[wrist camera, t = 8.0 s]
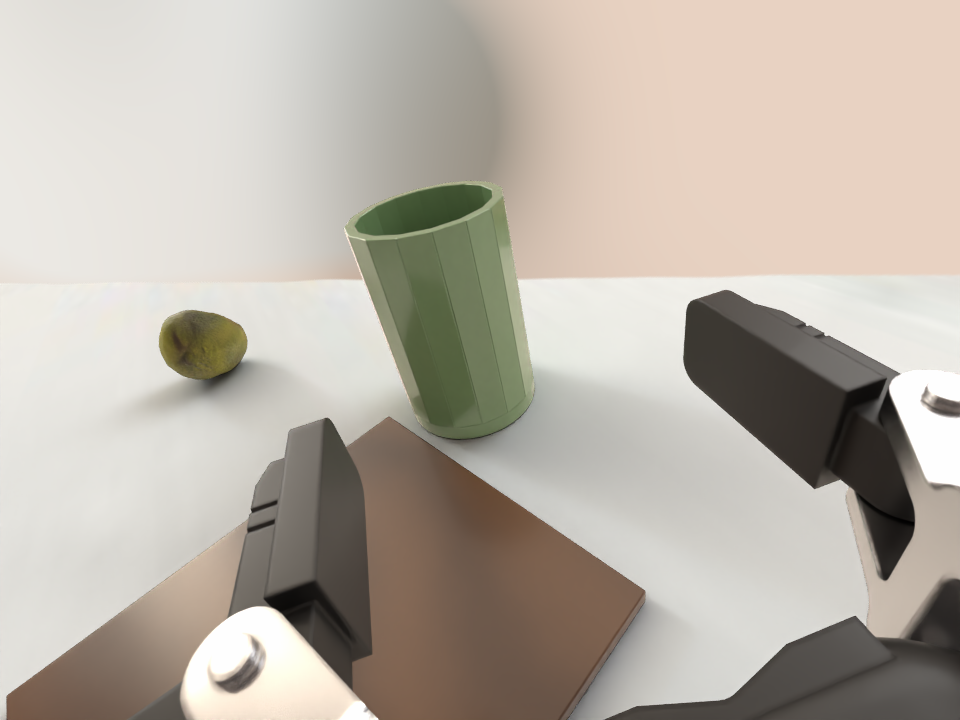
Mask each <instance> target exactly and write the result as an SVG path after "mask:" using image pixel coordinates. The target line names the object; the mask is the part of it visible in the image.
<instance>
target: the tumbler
mask: <svg viewBox="0 0 960 720" xmlns="http://www.w3.org/2000/svg"><path fill="white" fill-rule="evenodd" d="M344 231H345V233H346V236H347V239H348V242H349V244H350V247H351V249H352V252H353V255H354V257H355V260H356V263H357V265H358V268H359V270H360V273H361V276H362V279H363V281H364V284H365V286H366V289H367V292H368V294H369V297H370V300H371V302H372V305H373V308H374V310H375V313H376V315H377V318H378V321H379V323H380V326H381V329H382V331H383V334H384V337H385V339H386V342H387V345H388V347H389V350H390V352H391V355H392V358H393V360H394V363H395V366H396V368H397V371H398V374H399V376H400V379H401V381H402V384H403V387H404V389H405V392H406V395H407V397H408V400H409V402H410V404H411V407H412V409H413V412H414V415H415V417H416V419H417V421H418V423H419V424H420V425H421V426H422V427H423V428H425V429H426V430H427V431H429V432H431V433H432V434H435V435H438V436H440V437H445V438H451V439H469V438H476V437H481V436H485V435H488V434H491V433H494V432H497V431H499V430H501V429H503V428H505V427H507V426H508V425H510V424H511V423H513V422H514V421H516V420H517V419H518V418H519V417H520V416H521V415H522V414H523V413H524V412H525V411H526V410H527V408H528V407H529V405H530V403H531V402H532V399H533V396H534V391H535V385H534V378H533V372H532V366H531V360H530V354H529V348H528V341H527V335H526V329H525V323H524V317H523V311H522V305H521V299H520V293H519V287H518V281H517V274H516V269H515V262H514V257H513V250H512V244H511V239H510V232H509V226H508V220H507V214H506V208H505V201H504V196H503V189H502V187H500V186H498V185H495V184H493V183H490V182H480V181H463V182H454V183H453V182H452V183H444V184H438V185H434V186H429V187H424V188H419V189H416V190H412V191H409V192H406V193H402V194H399V195H396V196H393V197H390V198H388V199H385V200H383V201H381V202H378V203H376V204H374V205H371V206H369V207H367V208H366V209H364V210H363V211H361V212H360V213H358V214H356V215H355V216H353V217H352V218H351V219H350V220H349V222H348V223H347V224H346V226H345V227H344Z"/></svg>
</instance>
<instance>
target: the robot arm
mask: <svg viewBox="0 0 960 720" xmlns="http://www.w3.org/2000/svg"><path fill="white" fill-rule="evenodd" d="M683 360H684V366H685V369H686V372H687V374H688V376H689V378H690V379H691V381H692V382H693V383H694V384H695V385H696V386H697V387H698V388H699V389H701V390H702V391H703V392H704V393H705V394H706V395H707V396H709V397H710V398H711V399H712V400H713V401H714V402H715V403H717V404H718V405H719V406H720V407H721V408H722V409H723V410H725V411H726V412H727V413H728V414H729V415H730V416H732V417H733V418H734V419H735V420H736V421H737V422H738V423H740V424H741V425H742V426H743V427H744V428H745V429H746V430H748V431H749V432H750V433H751V434H752V435H753V436H754V437H756V438H757V439H758V440H759V441H760V442H761V443H762V444H764V445H765V446H766V447H767V448H768V449H769V450H770V451H772V452H773V453H774V454H775V455H776V456H777V457H778V458H780V459H781V460H782V461H783V462H784V463H785V464H786V465H788V466H789V467H790V468H791V469H792V470H793V471H794V472H796V473H797V474H798V475H799V476H800V477H801V478H803V479H804V480H805V481H806V482H807V483H808V484H809V485H811V486H812V487H813V488H814V489H816V488H819V487H822V486H824V485H827V484H829V483H832V482H835V481H837V480H840V479H841V480H842V481H843V482H844V483H846V484H847V485H848V486H849V488H848V490H847V493H846V503H847V507H848V511H849V515H850V519H851V523H852V527H853V531H854V535H855V539H856V543H857V547H858V551H859V556H860V560H861V564H862V568H863V572H864V576H865V580H866V584H867V588H868V596H869V607H868V614H867V626H865V625H864V624H863V623H862V622H861V621H860V620H859V619H858V618H857V617H856V616H853V617H851V618H849V619H846V620H844V621H841V622H839V623H836V624H834V625H832V626H829V627H827V628H824V629H822V630H820V631H817V632H815V633H812V634H810V635H807V636H805V637H803V638H800V639H798V640H795V641H793V642H791V643H788V644H786V645H785V646H784V647H783V648H782V649H781V650H780V651H779V652H778V653H777V654H776V655H775V656H774V657H773V658H772V659H771V660H770V661H769V662H768V663H766V664H765V665H764V666H763V667H762V668H761V669H760V670H759V671H758V672H757V673H756V674H755V675H754V676H753V677H752V678H751V679H750V680H749V681H748V682H747V683H746V684H745V685H744V686H743V687H742V688H740V689H739V690H738V691H737V692H736V693H735V694H734V695H733V696H731V697H730V698H727V699H725V700H720V701H707V702H692V703H678V704H663V705H649V706H636V707H634V708H631V709H629V710H627V711H624V712H622V713H619V714H617V715H614V716H612V717H610V718H607V719H605V720H960V374H956V373H951V372H945V371H936V370H917V371H910V372H906V373H903V374H900V373H898V372H896V371H894V370H893V369H891V368H889V367H887V366H885V365H883V364H881V363H879V362H878V361H876V360H874V359H872V358H870V357H868V356H866V355H864V354H863V353H861V352H859V351H857V350H855V349H853V348H851V347H849V346H847V345H846V344H844V343H842V342H840V341H838V340H836V339H834V338H832V337H831V336H825V335H824V333H823V332H821V331H819V330H817V329H816V328H814V327H812V326H806V324H805V323H804V322H802V321H800V320H799V319H797V318H795V317H793V316H791V315H789V314H787V313H785V312H784V311H780V310H776V309H773V308H769V307H765V306H761V305H758V304H754V303H752V302H750V301H748V300H747V299H745V298H743V297H741V296H739V295H737V294H736V293H734V292H732V291H729V290H723V291H720V292H717V293H714V294H711V295H708V296H705V297H701V298H698V299H695V300H692V301H691V302H690V303H689V304H688V307H687V311H686V325H685V340H684V356H683ZM251 511H252V513H251V514H250V515H249V519H248V524H247V532H248V533H247V534H245V538H244V543H243V548H242V552H241V557H240V562H239V566H238V571H237V576H236V580H235V585H234V590H233V595H232V599H231V604H230V609H229V613H228V617H227V620H225V621H224V622H222V623H221V624H220V625H219V626H218V627H217V628H215V629H214V630H213V631H212V632H211V633H210V634H209V636H208V637H207V638H206V639H205V640H204V641H203V643H202V644H201V645H200V646H199V648H198V649H197V651H196V652H195V654H194V655H193V657H192V659H191V661H190V663H189V665H188V667H187V669H186V672H185V675H184V677H183V681H181V682H180V683H179V684H177V685H176V686H175V687H173V688H172V689H171V690H169V691H168V692H166V693H165V694H163V695H162V696H160V697H159V698H157V699H156V700H155V701H153V702H152V703H150V704H149V705H147V706H146V707H144V708H143V709H142V710H140V711H139V712H137V713H136V714H134V715H133V716H131V717H130V718H129V719H127V720H379V719H378V718H377V717H376V716H375V715H374V714H373V713H372V712H371V711H370V710H369V708H368V707H367V706H366V705H365V704H364V703H363V702H362V701H361V700H360V699H359V698H358V696H357V695H356V694H355V693H354V692H353V673H352V662H354V661H357V660H359V659H362V658H364V657H367V656H370V655H372V635H371V615H370V596H369V576H368V557H367V538H366V518H365V499H364V490H363V485H362V481H361V478H360V475H359V472H358V470H357V468H356V466H355V464H354V462H353V460H352V458H351V456H350V454H349V452H348V451H347V449H346V447H345V445H344V443H343V441H342V439H341V437H340V435H339V434H338V432H337V430H336V428H335V426H334V424H333V423H332V421H331V420H330V419H329V418H324V419H321V420H318V421H315V422H312V423H309V424H306V425H303V426H300V427H297V428H294V429H291V430H290V431H289V433H288V439H287V445H286V452H285V458H283V459H280V460H277V461H274V462H271V463H270V464H269V466H268V467H267V469H266V470H265V472H264V474H263V475H262V477H261V478H260V480H259V481H258V483H257V485H256V487H255V491H254V496H253V501H252V505H251Z"/></svg>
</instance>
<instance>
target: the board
mask: <svg viewBox="0 0 960 720" xmlns="http://www.w3.org/2000/svg"><path fill="white" fill-rule="evenodd" d="M346 449H347V451H348V452H349V454H350V456H351V458H352V460H353V462H354V464H355V466H356V468H357V470H358V472H359V475H360V478H361V481H362V485H363V490H364V499H365V518H366V538H367V557H368V576H369V596H370V615H371V635H372V655H370V656H367V657H364V658H362V659H359V660H357V661H354V662H352V673H353V692H354V693H355V694H356V695H357V696H358V698H359V699H360V700H361V701H362V702H363V703H364V704H365V705H366V706H367V707H368V708H369V710H370V711H371V712H372V713H373V714H374V715H375V716H376V717H377V718H378V719H379V720H567V719H568V718H569V716H570V715H571V713H572V711H573V710H574V708H575V707H576V705H577V704H578V702H579V701H580V699H581V698H582V696H583V695H584V693H585V692H586V690H587V689H588V687H589V686H590V684H591V683H592V681H593V680H594V678H595V677H596V675H597V673H598V672H599V670H600V669H601V667H602V666H603V664H604V663H605V661H606V660H607V658H608V657H609V655H610V654H611V652H612V651H613V649H614V648H615V646H616V645H617V643H618V642H619V640H620V638H621V637H622V635H623V634H624V632H625V631H626V629H627V628H628V626H629V625H630V623H631V622H632V620H633V619H634V617H635V616H636V614H637V613H638V611H639V610H640V608H641V607H642V605H643V604H644V602H645V593H646V592H645V590H643V589H642V588H640V587H639V586H638V585H636V584H635V583H633V582H632V581H630V580H629V579H627V578H626V577H624V576H623V575H621V574H620V573H618V572H617V571H616V570H614V569H613V568H611V567H610V566H608V565H607V564H605V563H604V562H602V561H601V560H599V559H598V558H596V557H595V556H593V555H592V554H591V553H589V552H588V551H586V550H585V549H583V548H582V547H580V546H579V545H577V544H576V543H574V542H573V541H571V540H570V539H568V538H567V537H566V536H564V535H563V534H561V533H560V532H558V531H557V530H555V529H554V528H552V527H551V526H549V525H548V524H546V523H545V522H543V521H542V520H541V519H539V518H538V517H536V516H535V515H533V514H532V513H530V512H529V511H527V510H526V509H524V508H523V507H521V506H520V505H518V504H517V503H516V502H514V501H513V500H511V499H510V498H508V497H507V496H505V495H504V494H502V493H501V492H499V491H498V490H496V489H495V488H493V487H492V486H491V485H489V484H488V483H486V482H485V481H483V480H482V479H480V478H479V477H477V476H476V475H474V474H473V473H471V472H470V471H468V470H467V469H466V468H464V467H463V466H461V465H460V464H458V463H457V462H455V461H454V460H452V459H451V458H449V457H448V456H446V455H445V454H443V453H442V452H441V451H439V450H438V449H436V448H435V447H433V446H432V445H430V444H429V443H427V442H426V441H424V440H423V439H421V438H420V437H418V436H417V435H416V434H414V433H413V432H411V431H410V430H408V429H407V428H405V427H404V426H402V425H401V424H399V423H398V422H396V421H395V420H393V419H392V418H391V417H387V418H386V419H384V420H383V421H382V422H380V423H379V424H378V425H376V426H375V427H374V428H372V429H371V430H369V431H368V432H367V433H365V434H364V435H363V436H361V437H360V438H358V439H357V440H356V441H354V442H353V443H352V444H350V445H349V446H348V447H346ZM247 524H248V520H246V521H245V522H244V523H242V524H241V525H239V526H238V527H237V528H235V529H234V530H233V531H231V532H230V533H229V534H227V535H226V536H224V537H223V538H222V539H220V540H219V541H218V542H216V543H215V544H213V545H212V546H211V547H209V548H208V549H207V550H205V551H204V552H203V553H201V554H200V555H198V556H197V557H196V558H194V559H193V560H192V561H190V562H189V563H187V564H186V565H185V566H183V567H182V568H181V569H179V570H178V571H177V572H175V573H174V574H172V575H171V576H170V577H168V578H167V579H166V580H164V581H163V582H161V583H160V584H159V585H157V586H156V587H155V588H153V589H152V590H151V591H149V592H148V593H146V594H145V595H144V596H142V597H141V598H140V599H138V600H137V601H135V602H134V603H133V604H131V605H130V606H129V607H127V608H126V609H125V610H123V611H122V612H120V613H119V614H118V615H116V616H115V617H114V618H112V619H111V620H109V621H108V622H107V623H105V624H104V625H103V626H101V627H100V628H99V629H97V630H96V631H94V632H93V633H92V634H90V635H89V636H88V637H86V638H85V639H84V640H82V641H81V642H79V643H78V644H77V645H75V646H74V647H73V648H71V649H70V650H68V651H67V652H66V653H64V654H63V655H62V656H60V657H59V658H58V659H56V660H55V661H53V662H52V663H51V664H49V665H48V666H47V667H45V668H44V669H42V670H41V671H40V672H38V673H37V674H36V675H34V676H33V677H32V678H30V679H29V680H27V681H26V682H25V683H23V684H22V685H21V686H19V687H18V688H16V689H15V690H14V691H12V692H11V693H10V694H8V695H7V720H127V719H129V718H130V717H131V716H133V715H134V714H136V713H137V712H139V711H140V710H142V709H143V708H144V707H146V706H147V705H149V704H150V703H152V702H153V701H155V700H156V699H157V698H159V697H160V696H162V695H163V694H165V693H166V692H168V691H169V690H171V689H172V688H173V687H175V686H176V685H177V684H179V683H180V682H181V681H183V677H184V675H185V672H186V669H187V667H188V665H189V663H190V661H191V659H192V657H193V655H194V654H195V652H196V651H197V649H198V648H199V646H200V645H201V644H202V643H203V641H204V640H205V639H206V638H207V637H208V636H209V634H210V633H211V632H212V631H213V630H214V629H215V628H217V627H218V626H219V625H220V624H221V623H222V622H224V621H225V620H227V617H228V613H229V609H230V604H231V599H232V595H233V590H234V585H235V580H236V576H237V571H238V566H239V562H240V557H241V552H242V548H243V543H244V538H245V534H247V533H248V532H247Z"/></svg>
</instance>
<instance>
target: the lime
mask: <svg viewBox="0 0 960 720" xmlns="http://www.w3.org/2000/svg"><path fill="white" fill-rule="evenodd" d="M159 348H160V351H161V354H162V356H163V358H164V360H165V362H166V364H167V365H168V366H169V367H170V368H172V369H173V370H175V371H176V372H177V373H179V374H180V375H182V376H185V377H188V378H192V379H198V380H206V379H210V378H213V377H215V376H218V375H220V374H223V373H226V372H228V371H230V370H232V369H233V368H234V367H236V366H237V365H238V363H239V362H240V361H241V360H242V358H243V356H244V354H245V352H246V349H247V337H246V334H245V332H244V330H243V328H242V327H241V326H240V325H239V324H237V323H235V322H233V321H232V320H230V319H228V318H226V317H224V316H221V315H218V314H215V313H208V312H202V311H197V310H186V311H182V312H179V313H177V314H174V315H171V316H170V317H168V318H167V319H166V320H165V322H164V323H163V325H162V328H161V332H160V336H159Z"/></svg>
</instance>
